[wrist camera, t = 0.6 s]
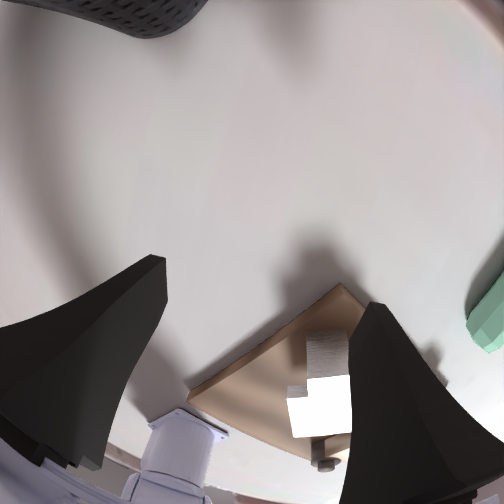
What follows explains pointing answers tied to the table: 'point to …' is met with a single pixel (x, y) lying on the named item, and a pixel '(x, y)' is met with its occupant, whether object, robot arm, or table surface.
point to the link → (330, 452)
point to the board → (275, 376)
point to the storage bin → (127, 13)
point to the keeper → (323, 387)
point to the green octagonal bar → (489, 318)
